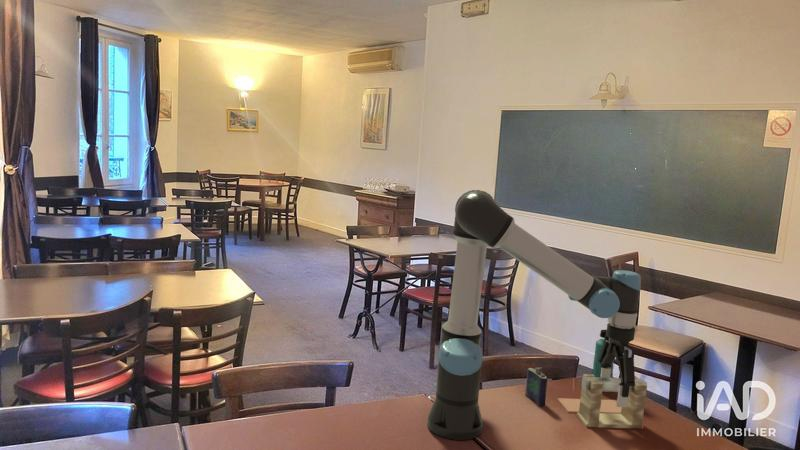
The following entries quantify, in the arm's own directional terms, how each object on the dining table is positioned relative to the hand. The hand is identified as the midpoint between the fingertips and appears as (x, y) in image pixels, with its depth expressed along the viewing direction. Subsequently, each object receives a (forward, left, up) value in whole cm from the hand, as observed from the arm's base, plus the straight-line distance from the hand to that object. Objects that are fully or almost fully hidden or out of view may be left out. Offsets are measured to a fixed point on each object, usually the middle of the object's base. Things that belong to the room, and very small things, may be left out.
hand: (612, 397), depth 168 cm
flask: (-18, +14, -8) cm, 24 cm away
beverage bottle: (+8, +24, -8) cm, 27 cm away
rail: (0, 0, +2) cm, 2 cm away
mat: (0, +10, -8) cm, 13 cm away
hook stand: (0, 0, -8) cm, 8 cm away
